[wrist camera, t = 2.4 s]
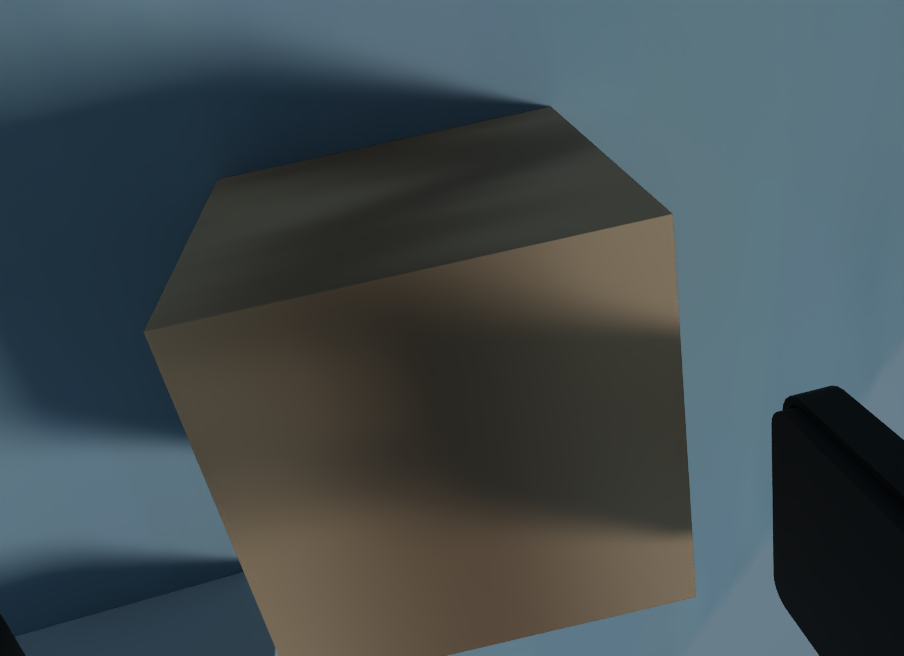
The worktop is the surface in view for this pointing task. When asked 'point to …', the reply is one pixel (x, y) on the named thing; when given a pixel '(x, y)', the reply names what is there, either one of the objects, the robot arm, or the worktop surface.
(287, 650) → the walnut cube
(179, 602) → the base block
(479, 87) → the worktop surface
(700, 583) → the worktop surface
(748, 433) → the worktop surface
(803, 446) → the robot arm
